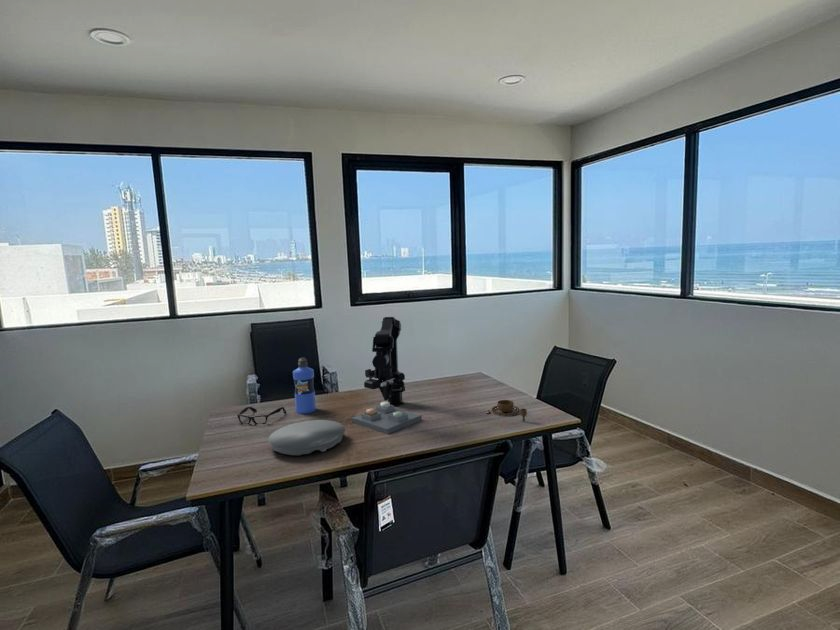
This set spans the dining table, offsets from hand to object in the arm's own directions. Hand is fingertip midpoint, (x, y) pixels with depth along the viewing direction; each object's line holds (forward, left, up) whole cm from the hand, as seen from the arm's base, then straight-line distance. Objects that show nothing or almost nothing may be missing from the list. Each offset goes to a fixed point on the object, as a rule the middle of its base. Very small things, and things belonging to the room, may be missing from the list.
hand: (385, 400), depth 188 cm
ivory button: (-6, -8, -6) cm, 12 cm away
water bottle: (+12, -43, -10) cm, 45 cm away
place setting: (-38, +34, -11) cm, 52 cm away
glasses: (+29, -51, -11) cm, 60 cm away
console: (-1, -2, -10) cm, 10 cm away
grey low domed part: (+34, -8, -10) cm, 36 cm away
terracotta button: (+4, -6, -6) cm, 9 cm away
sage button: (-2, +4, -7) cm, 9 cm away
